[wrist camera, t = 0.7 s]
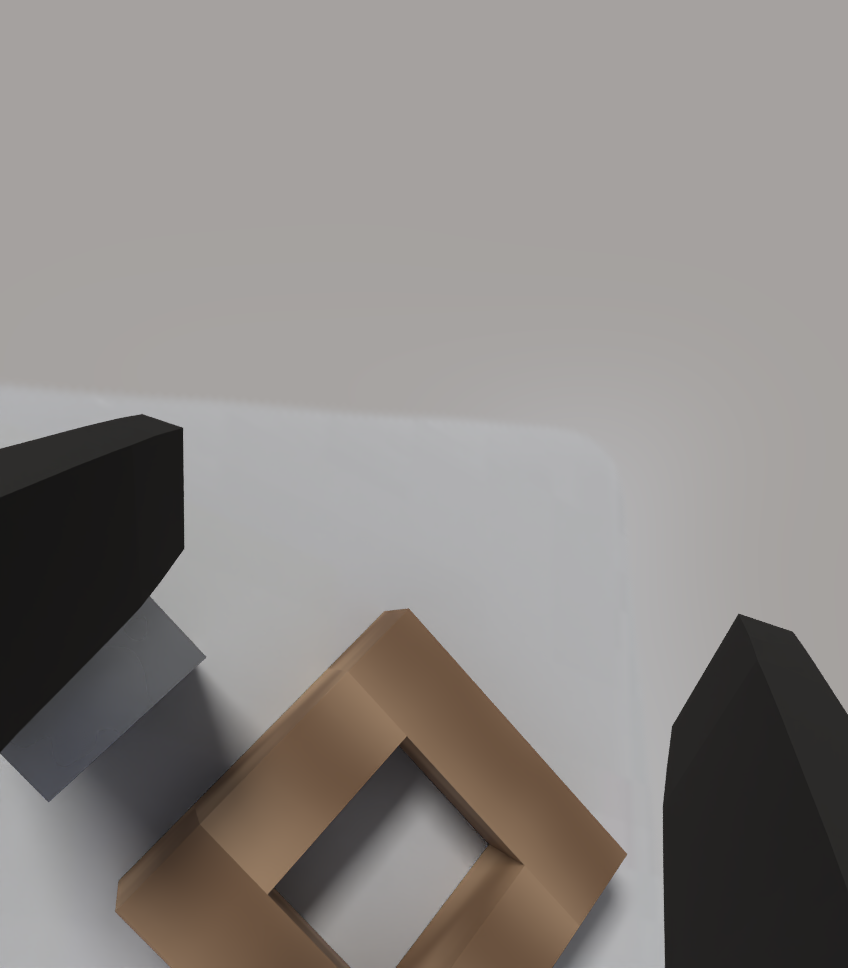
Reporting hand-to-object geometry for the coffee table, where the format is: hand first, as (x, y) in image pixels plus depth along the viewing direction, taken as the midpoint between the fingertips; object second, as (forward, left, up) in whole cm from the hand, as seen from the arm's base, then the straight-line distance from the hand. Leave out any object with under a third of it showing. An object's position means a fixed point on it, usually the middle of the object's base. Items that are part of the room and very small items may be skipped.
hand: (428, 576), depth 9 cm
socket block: (-2, -8, -15) cm, 18 cm away
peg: (-4, +3, -15) cm, 16 cm away
